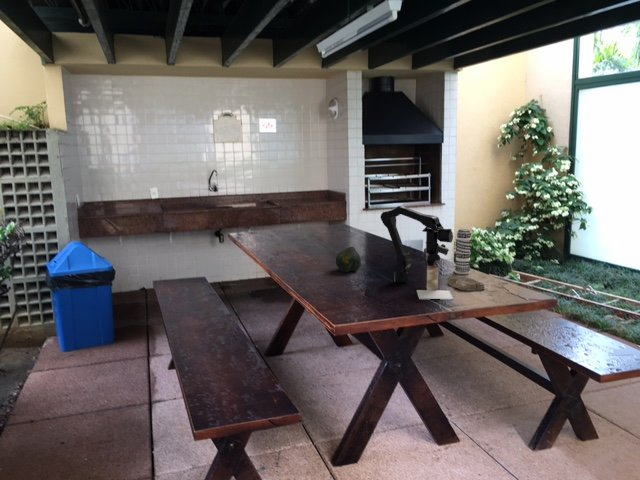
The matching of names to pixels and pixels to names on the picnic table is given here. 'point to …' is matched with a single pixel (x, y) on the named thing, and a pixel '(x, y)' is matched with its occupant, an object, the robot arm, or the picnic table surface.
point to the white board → (434, 294)
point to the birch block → (432, 277)
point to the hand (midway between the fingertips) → (431, 270)
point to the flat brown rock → (465, 283)
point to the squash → (348, 260)
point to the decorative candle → (463, 251)
